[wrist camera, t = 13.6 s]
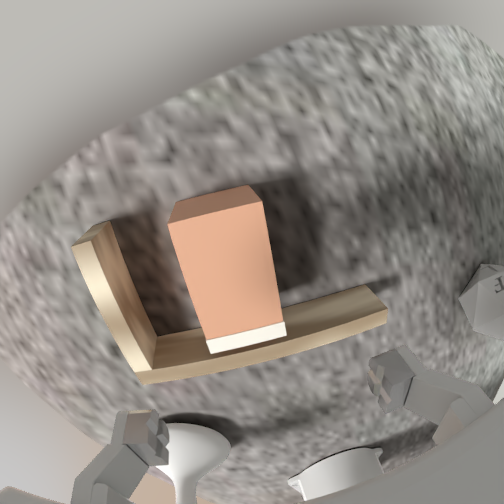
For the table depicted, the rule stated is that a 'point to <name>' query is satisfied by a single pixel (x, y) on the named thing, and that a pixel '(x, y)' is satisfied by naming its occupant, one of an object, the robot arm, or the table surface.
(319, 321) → the wooden corner bracket
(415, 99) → the table surface
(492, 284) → the die
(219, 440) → the flower in vase
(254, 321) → the block
